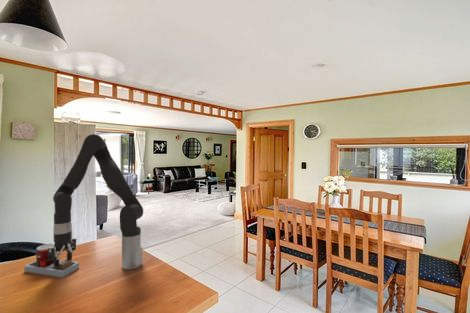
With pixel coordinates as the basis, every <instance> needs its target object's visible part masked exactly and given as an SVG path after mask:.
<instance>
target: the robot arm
mask: <svg viewBox="0 0 470 313" xmlns="http://www.w3.org/2000/svg"><path fill="white" fill-rule="evenodd" d="M93 157H94V159H95V161H97V163H98V165H99V171H100V173H101V175H102V176H101V177H102V179H103V181H104V182H105V184H106V185H107V188H108V189H109V190H111V192H113V193H114V194H116V196H117V197H119V198H120V199H121V200H122V202H123V204H124V206H123V207H121V209H120V212H119V229H120V232H121V267H122V270H127V271H129V270H137V269H138V268H139V267H140V266H142V265H143V246H142V245H141V244H142V243H141V242H142V241H141V238H142V236H141V235H142V234H141V232H142V231H141V227H140V226H138V224H137V222H138V221H137V220H138V219H141V218H142V217H143V215H144V207H143V205H142V204H141V202H140V201H139V200H138V198H137V197H136V196H135V194H134V192H133V191H132V188H131V187H130V185H129V183H128V182H127V180H126V178H125V176H124V174H123V172H122V170H121V169H120V168H119V165H118V164H117V162H116V161H115V160H114V158H113V157H112V155H111V152H110V151H109V149H108V145H107V143H106V141H105V140H104V139H103V137H102V136H100V135H99V134H95V133H92V134H89V135H87V136H86V137H85V138H84V141H83V143H82V145H81V148H80V151H79V153H78V155H77V157H76V160H75V161H74V163H73V165H72V167H71V168H70V170H69V172H68V173H67V175H66V176H65V179H64V180H63V182H62V183H61V185H60V186H59V187H58V188H57V190H56V191H55V193H54V195H53V198H52V200H53V202H54V213H53V228H52V229H53V232H52V233H53V243H54V244H55V245H54V247H52V248H48V255H49V260H53V263H54V267H59V261H60V256H61V255H62V254H63V252H64V251H65V252H66V259H68V260H72V259H73V252H74V251H76V248H77V238H73V229H72V228H73V227H72V226H73V225H72V202H73V198H72V195H73V193H74V191H75V190H76V189H78V187H79V186H80V185H81V183H82V182H83V180H84V178H85V175H86V173H87V171H88V167H89V164H90V162H91V160H92V158H93ZM72 261H73V260H72Z"/></svg>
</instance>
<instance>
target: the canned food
mask: <svg viewBox="0 0 470 313" xmlns="http://www.w3.org/2000/svg"><path fill="white" fill-rule="evenodd" d="M54 245H55V243H45V244H42V245H39V246H37V247H36V249H35V250H36V251H35V258H36V261H37V267H43V268H46V267H48V266H50V265H52V264H54V263H53V260H49V255H48V248H52V247H54Z"/></svg>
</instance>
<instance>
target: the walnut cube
mask: <svg viewBox="0 0 470 313" xmlns="http://www.w3.org/2000/svg"><path fill="white" fill-rule="evenodd" d="M62 259H63V260H62ZM62 259H60V260H61V261H60V260H59V267H55V269H56V270H64V269H66V268H68V267H70V266H72V261H73V260H68V259H67V258H66V259H64V258H62Z"/></svg>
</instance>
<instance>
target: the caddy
mask: <svg viewBox="0 0 470 313" xmlns="http://www.w3.org/2000/svg"><path fill="white" fill-rule="evenodd" d="M63 259H67V257H65V258H62V259H59V261H61V260H63ZM79 268H80V262H79V261H73V260H72V266H70V267H68V268H66V269H64V270H56V269H55V267H54V264H52V265H50V266H48V267H46V268H43V267H37V260H34V261H32V262H30V263H28V264H25V265H24V272H25V273H31V274H37V275H44V276H50V277H57V278H64V277H66V276H68V275H70V274H71V273H73V272H75V271H76V270H78V269H79Z"/></svg>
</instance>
